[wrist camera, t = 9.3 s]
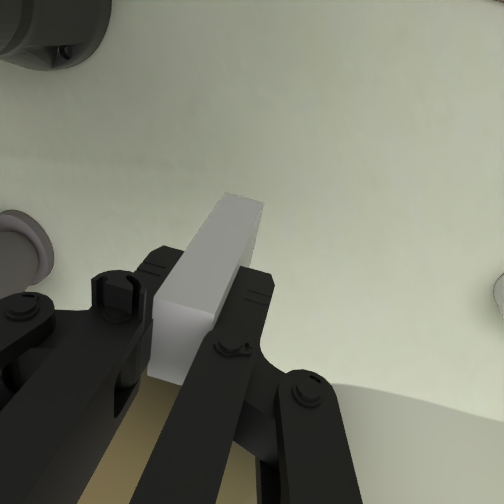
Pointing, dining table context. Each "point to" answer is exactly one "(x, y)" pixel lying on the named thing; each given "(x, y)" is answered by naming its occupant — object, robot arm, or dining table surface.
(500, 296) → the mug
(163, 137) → the dining table surface
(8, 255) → the vase
